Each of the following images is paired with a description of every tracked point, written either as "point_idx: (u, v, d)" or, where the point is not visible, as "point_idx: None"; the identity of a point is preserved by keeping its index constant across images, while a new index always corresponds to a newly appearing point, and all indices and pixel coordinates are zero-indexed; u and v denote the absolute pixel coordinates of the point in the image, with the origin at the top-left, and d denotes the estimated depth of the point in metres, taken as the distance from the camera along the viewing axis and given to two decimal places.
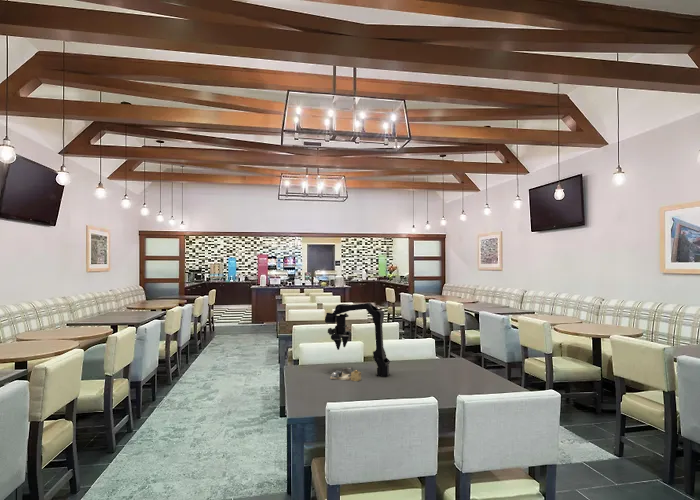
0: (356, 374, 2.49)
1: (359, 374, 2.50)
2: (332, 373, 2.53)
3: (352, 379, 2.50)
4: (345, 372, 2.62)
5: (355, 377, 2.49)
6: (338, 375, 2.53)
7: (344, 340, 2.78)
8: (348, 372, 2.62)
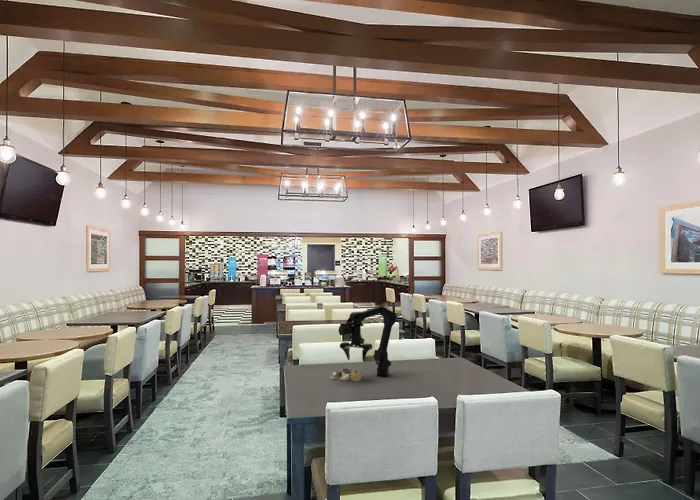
0: (356, 374, 2.49)
1: (359, 374, 2.50)
2: (332, 373, 2.53)
3: (352, 379, 2.50)
4: (345, 372, 2.62)
5: (355, 377, 2.49)
6: (338, 375, 2.53)
7: None
8: (348, 372, 2.62)
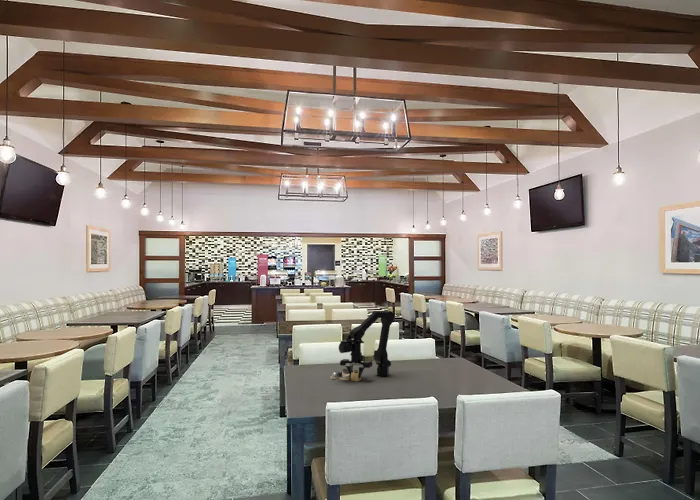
0: (356, 374, 2.49)
1: None
2: (332, 373, 2.53)
3: (352, 379, 2.50)
4: (345, 372, 2.62)
5: (355, 377, 2.49)
6: (338, 375, 2.53)
7: None
8: (348, 372, 2.62)
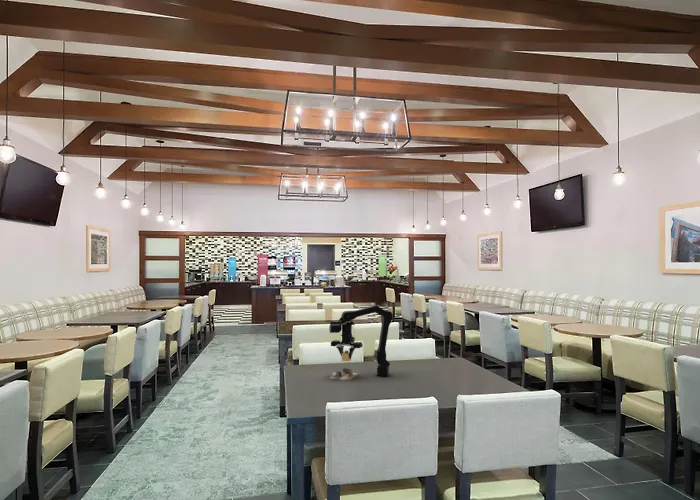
0: (346, 354, 2.55)
1: None
2: (332, 373, 2.53)
3: (342, 359, 2.55)
4: (345, 372, 2.62)
5: (345, 357, 2.55)
6: (338, 375, 2.53)
7: None
8: (348, 372, 2.62)
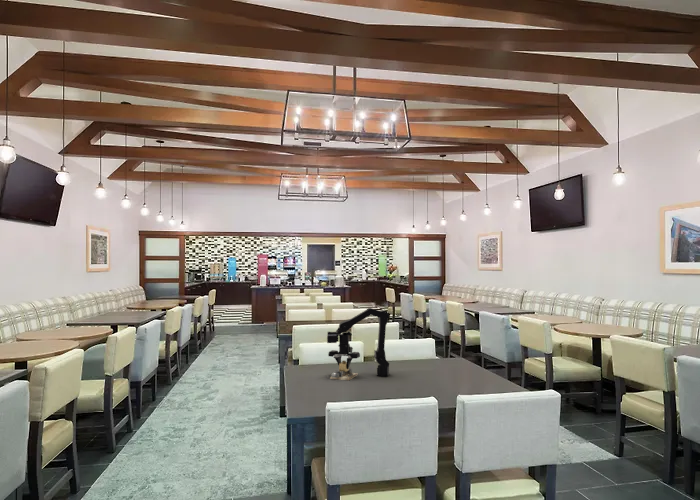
0: (344, 364, 2.56)
1: None
2: (332, 373, 2.53)
3: (340, 369, 2.57)
4: (345, 372, 2.62)
5: (343, 367, 2.57)
6: (338, 375, 2.53)
7: None
8: (348, 372, 2.62)
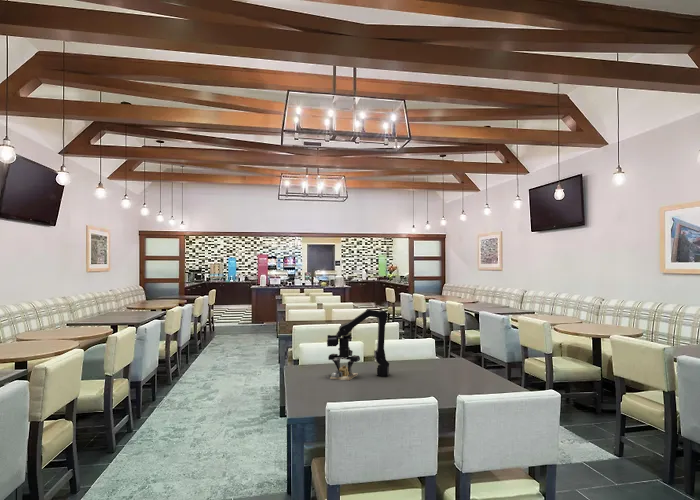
0: (344, 369, 2.56)
1: (347, 369, 2.58)
2: (332, 373, 2.53)
3: None
4: None
5: (343, 372, 2.57)
6: (338, 375, 2.53)
7: None
8: None
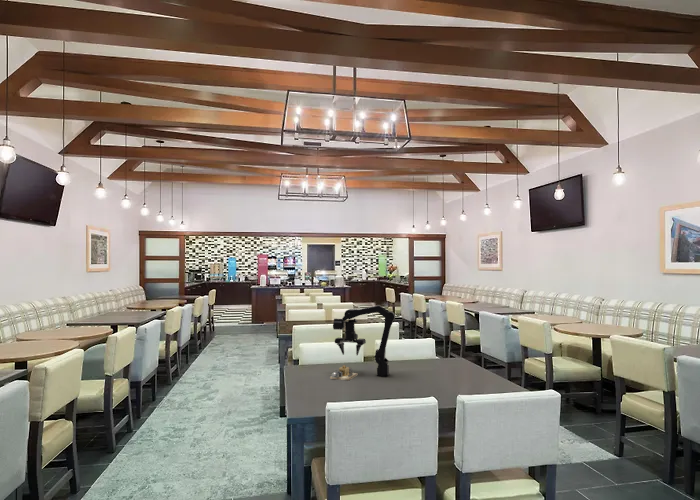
0: (344, 369, 2.56)
1: (347, 369, 2.58)
2: (332, 373, 2.53)
3: None
4: None
5: (343, 372, 2.57)
6: (338, 375, 2.53)
7: None
8: None
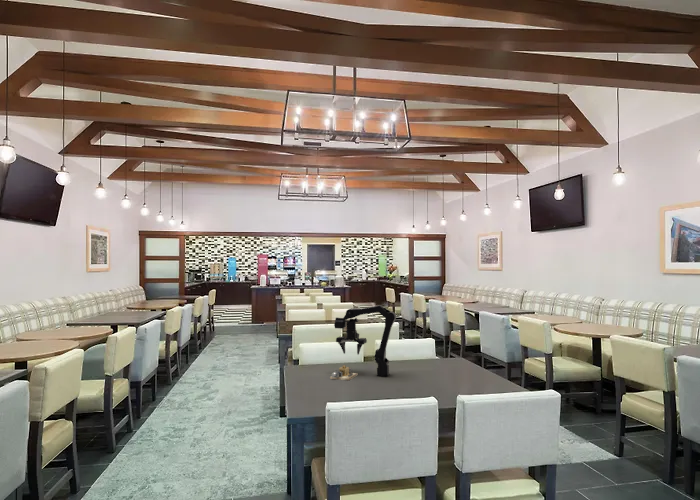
0: (344, 369, 2.56)
1: (347, 369, 2.58)
2: (332, 373, 2.53)
3: None
4: None
5: (343, 372, 2.57)
6: (338, 375, 2.53)
7: None
8: None
